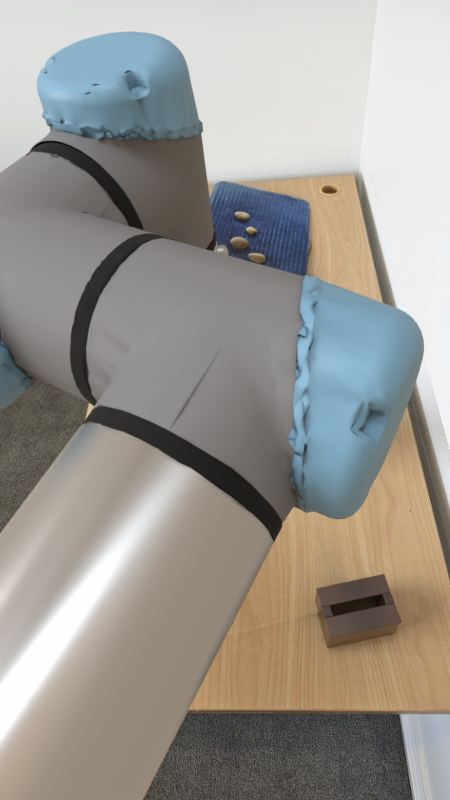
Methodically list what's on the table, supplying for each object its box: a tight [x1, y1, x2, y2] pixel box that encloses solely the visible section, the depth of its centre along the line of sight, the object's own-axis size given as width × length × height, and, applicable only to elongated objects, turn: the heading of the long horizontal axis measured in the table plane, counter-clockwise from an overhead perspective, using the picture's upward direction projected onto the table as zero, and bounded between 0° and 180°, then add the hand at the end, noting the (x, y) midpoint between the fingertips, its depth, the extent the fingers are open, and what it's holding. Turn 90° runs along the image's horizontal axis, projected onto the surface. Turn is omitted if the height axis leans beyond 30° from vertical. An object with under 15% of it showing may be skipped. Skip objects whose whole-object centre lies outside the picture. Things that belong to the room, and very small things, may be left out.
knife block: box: [314, 573, 402, 649], centre depth 65 cm, size 9×6×7 cm, turn 100°
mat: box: [209, 180, 313, 277], centre depth 114 cm, size 45×27×12 cm, turn 173°
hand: (215, 455), depth 55 cm, fingers closed on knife, 2 cm apart
